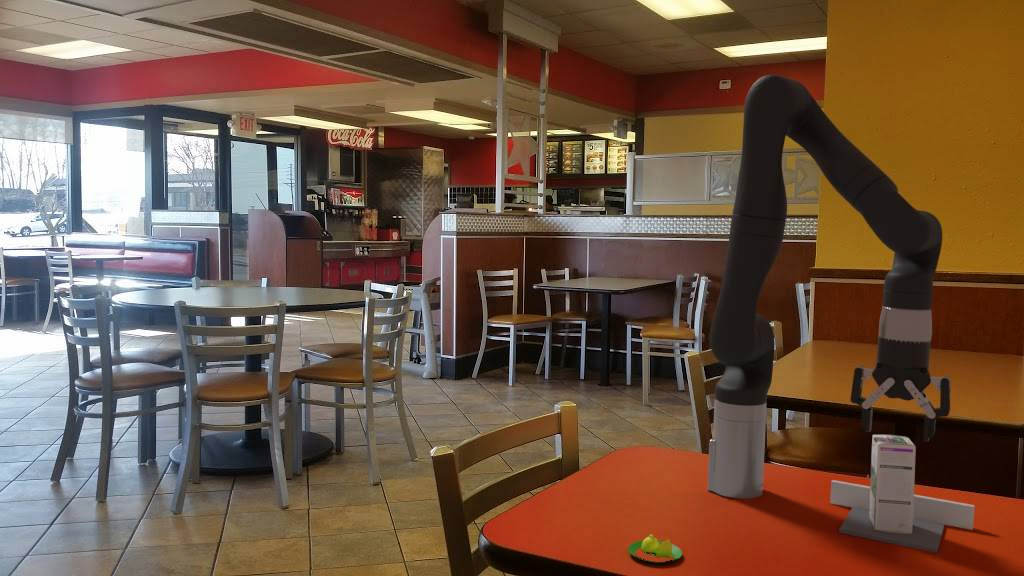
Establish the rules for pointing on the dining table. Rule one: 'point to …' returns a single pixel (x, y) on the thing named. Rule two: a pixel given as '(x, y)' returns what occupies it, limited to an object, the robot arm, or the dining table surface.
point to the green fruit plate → (656, 548)
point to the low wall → (923, 505)
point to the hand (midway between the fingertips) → (896, 435)
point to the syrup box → (892, 483)
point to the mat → (921, 537)
